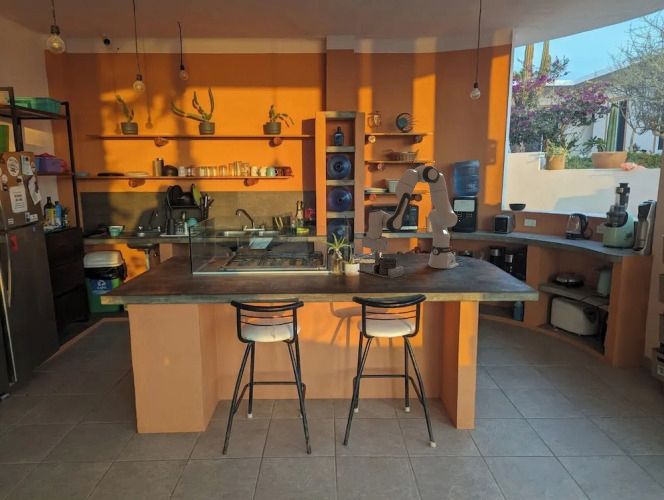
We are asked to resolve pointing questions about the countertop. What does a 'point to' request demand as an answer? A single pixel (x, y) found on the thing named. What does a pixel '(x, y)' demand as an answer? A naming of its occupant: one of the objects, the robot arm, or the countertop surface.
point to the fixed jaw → (389, 272)
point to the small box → (386, 265)
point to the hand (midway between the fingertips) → (374, 255)
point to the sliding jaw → (376, 264)
